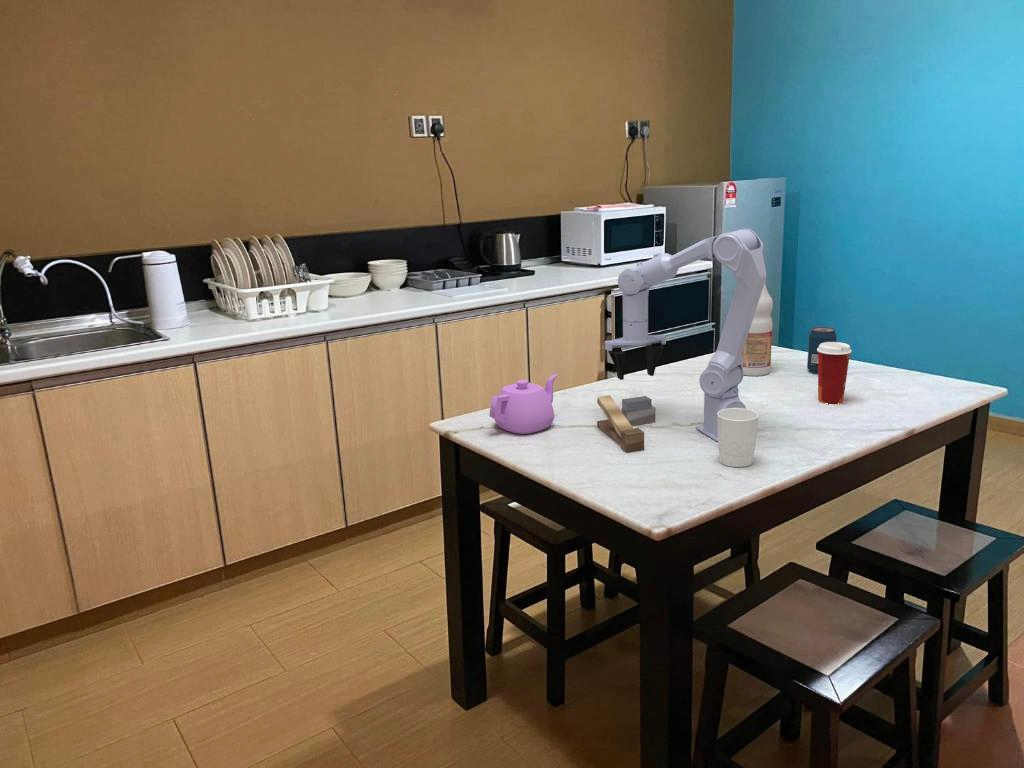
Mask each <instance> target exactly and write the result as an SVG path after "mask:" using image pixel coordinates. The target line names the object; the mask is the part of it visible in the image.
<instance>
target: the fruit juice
mask: <svg viewBox="0 0 1024 768" xmlns="http://www.w3.org/2000/svg"><path fill="white" fill-rule="evenodd" d="M773 306H774V301H773V298H772V296H771V295H770V293H769V291H768V289H767V285H766V282H765V283H764V287H763V290H762V293H761V296H760V299H759V302H758V305H757V308H756V311H755V314H754V318H753V321H752V324H751V327H750V330H749V333H748V336H747V339H746V342H745V345H744V349H743V352H742V356H743V358H744V362H743V373H744V375H743V376H748V377H759V376H766V375H768V374H770V372H771V365H772V364H771V362H772V344H773V343H772V342H773V318H772V316H771V315H772V310H773Z"/></svg>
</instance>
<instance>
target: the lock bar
mask: <svg viewBox="0 0 1024 768" xmlns="http://www.w3.org/2000/svg"><path fill="white" fill-rule="evenodd" d="M652 403H653V402H652V398H650V397H648V396H647V395H643V396H635V397H629V398H622V399H621V408H623V409H625V410H626V411H633V410H640V409H646V408H651V405H652V406H653V404H652Z"/></svg>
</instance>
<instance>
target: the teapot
mask: <svg viewBox="0 0 1024 768" xmlns="http://www.w3.org/2000/svg"><path fill="white" fill-rule="evenodd" d="M558 376H559V373H555V374H552V375H550V376H549V377H548V378H547V381H546V383H545V387H543V386H542V385H539V384H537V383H533V382H529V380H528V379H527V380H526V379H518V380H517V381H515V382H516V383H512V384H511V383H510V384H508V385H506V386H505V385H504V386H503V387H501V389H500V391H499V393H498V395H492V396H491V400H490V409H489V415H488V416H489V417H490V418H491V419H493V420H494V421H495V423H496V424H497V425H498V427H500V429H502V430H504V431H505V432H509V433H513V434H518V435H519V434H521V435H523V434H524V435H525V434H527V435H528V434H533V433H536V432H541V431H543V430H545V429H547V428H550V426H552V423H553V422H554V420H555V412H554V406H553V401H554V382H555V380H556V378H557V377H558Z"/></svg>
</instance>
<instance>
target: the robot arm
mask: <svg viewBox="0 0 1024 768" xmlns="http://www.w3.org/2000/svg"><path fill="white" fill-rule="evenodd" d="M763 249H764V243H763V242H762V240H761V239H760V237H759V236H758V234H757V233H756V232H755V231H753V229H751V228H740V229H738V230H734V231H730V232H724V233H721V234H719V235H716V236H715V235H714V236H711V237H708V238H704V239H702V240H700V241H698V242H696V243H694V244H692V245H691V246H688V247H686V248H684V249H683V250H680V251H679V252H677V253H675V254H673V255H672V254H670V253H667V252H663V253H661V252H656V253H655V254H653V257H652V258H650V259H648V260H646V261H644V262H643V261H639V262H637V263H636V266H635V267H632V268H625V269H624V270H623V271H621V273H619V275H618V278H617V285H618V288H619V290H620V291H621V292H622V337H619V338H615V339H611V340H604V350H605V351H607V353H608V354H609V356H610V358H611V360H612V363H613V366H614V368H615V371H616V372H615V373H616V376H617V377H616V378H617V379H618V380H620V381H624V380H625V379H624V378H625V369H624V368H625V360H626V353H625V352H624V351H623V349H629V348H637V347H639V348H640V347H645V353H646V372H647V375H648V376H651V377H654V375H655V372H656V367H657V364H658V362H659V359H660V357H661V356H662V354H663V352H664V347H665V346H664V345H666V343H667V336H666V335H664V334H649V291H650V289H651V288H653V287H655V286H657V285H660V284H662V283H663V282H666V281H668V280H670V279H673V278H675V277H676V276H677V274H678V272H679V269H681V268H683V267H686V266H688V265H690V264H693V263H696V262H697V261H700V260H702V259H705V258H707V259H710V260H717V261H718V262H719V263H721V264H722V266H724V268H726V269H727V270H729V271H730V273H732V274H733V276H734V278H735V279H736V285H735V288H734V293H733V296H732V300H731V303H730V306H729V308H728V312H727V316H726V318H725V321H724V325H723V329H722V331H721V336H720V339H719V342H718V344H717V345H718V346H717V348H716V350H715V352H714V354H713V355H712V356H711V358H710V359H709V360H708V361H709V362H708V365H707V366H706V367H705V369H703V371H702V372H701V374H700V376H699V380H698V381H699V386H700V388H701V390H702V392H703V393H704V394H703V399H704V400H703V425H702V424H701V425H696V426H695V429H696V430H698V431H700V432H702V433H703V434H705V435H706V436H707V437H709V438H710V439H712V440H714V441H716V442H718V429H717V413H718V411H720V410H723V409H727V408H744V409H747V407H746V405H745V403H743V401H741V399H740V397H739V388H738V387H739V384H741V383H742V381H743V379H744V376H745V375H744V373H743V362H744V358H743V356H742V352H743V349H744V345H745V342H746V339H747V336H748V333H749V330H750V327H751V324H752V321H753V318H754V314H755V311H756V308H757V305H758V302H759V299H760V296H761V293H762V290H763V287H764V283H765V284H766V280H767V272H766V271H767V270H766V265H765V260H764V254H763V251H764V250H763Z"/></svg>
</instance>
